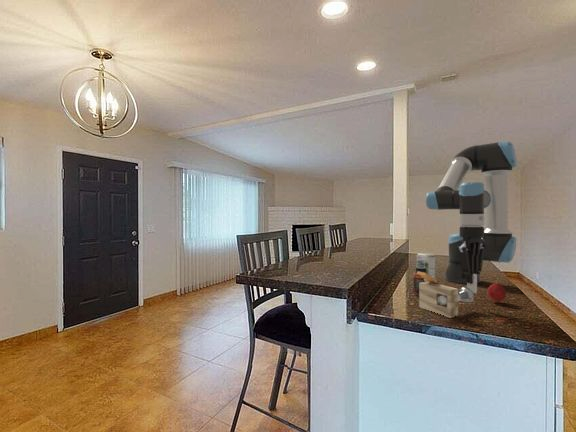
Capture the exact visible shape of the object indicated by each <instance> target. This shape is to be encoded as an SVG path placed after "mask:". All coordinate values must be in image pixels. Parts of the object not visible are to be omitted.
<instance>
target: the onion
mask: <svg viewBox="0 0 576 432" xmlns="http://www.w3.org/2000/svg"><path fill="white" fill-rule="evenodd" d="M486 291H487V292H486V294H487V295H486V296H488V298H489V299H490V300H491V301H493V303H496V304H499V303H500V302H502V301H503V300H505V299H506V296H507V292H506V291H507V290H506V289H505V288H504V286H502V285H501V284H500V283H499V282H498V281H494V282H493V283H492V284H491V285H489V287H488V288H487V290H486Z"/></svg>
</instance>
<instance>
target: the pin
mask: <svg viewBox="0 0 576 432" xmlns="http://www.w3.org/2000/svg"><path fill="white" fill-rule="evenodd" d="M474 294H475V293H473V292H472V291H471V290H470V289H469V288H467V287H461V288H460V289H459V288H458V302H464V303H471V302H472V301H474V298H475V295H474ZM438 302H439V303H440V304H441V305H445V304H447V296H446V295H441V296H439V297H438Z"/></svg>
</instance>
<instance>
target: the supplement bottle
mask: <svg viewBox="0 0 576 432" xmlns="http://www.w3.org/2000/svg"><path fill="white" fill-rule="evenodd" d="M417 271H419V272H424V273H427V272H426V267H417V266H415V271H414V272H413V273H412V276H413V278H412V280H413V281H412V282H413V283H412V284H413V285H412V287H413V288H412V289H413V291H412V292H413V295H415V296H418V297H419V283H421V282H426V281H427V282H429V281H428V280H426V279H424V278H423V277H421V276H420V275H418V274H417ZM427 274H428V273H427ZM428 275H429V274H428Z"/></svg>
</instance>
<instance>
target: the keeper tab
mask: <svg viewBox="0 0 576 432" xmlns="http://www.w3.org/2000/svg"><path fill="white" fill-rule="evenodd" d="M417 274H418V275H420V276H421V277H423V278H424V279H426V280H428V281H429V282H432V283H436V284H440V280H437V279H436V278H435V279H434V278H433V277H431V276H430V275H428V274H427V273H424V272H419V271H417Z"/></svg>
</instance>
